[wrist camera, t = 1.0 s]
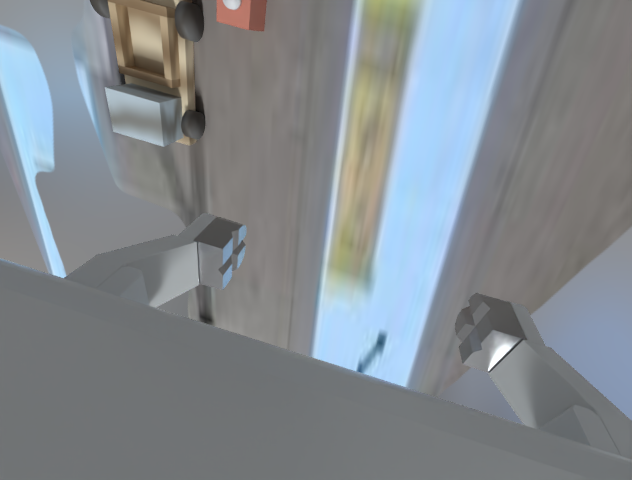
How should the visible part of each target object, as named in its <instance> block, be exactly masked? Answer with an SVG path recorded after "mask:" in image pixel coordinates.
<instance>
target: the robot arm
mask: <svg viewBox="0 0 632 480" xmlns="http://www.w3.org/2000/svg"><path fill="white" fill-rule="evenodd" d="M245 236H246V226H245V225H243V224H240V223H237V222H234V221H231V220H227V219H224V218H221V217H217V216H214V215H211V214H208V213H203V214H201V215H200V216H199V217H198V218H197V219H196V220H195V221H194V222H192V223H191V224H190V225H189V226H188V227H187V228H186V229H185V230H183V231H182V232H181V233H180V234H179V235H178V236H176V235H171V236H167V237H163V238H159V239H155V240H152V241H148V242H144V243H140V244H137V245H132V246H129V247H125V248H121V249H117V250H114V251H110V252H106V253H102V254H98V255H96V256H94V257H93V258H92V259H90V260H89V261H87V262H86V263H85V264H83V265H82V266H80V267H79V268H78V269H76V270H75V271H73V272H72V273H70V274H69V275H68V276H66V277H65V278H61V277H57V276H54V275H51V274H48V273H45V272H41V271H38V270H35V269H32V268H29V267H26V266H23V265H20V264H17V263H13V262H10V261H7V260H4V259H1V258H0V480H632V421H631V420H630V419H629V418H628V417H627V416H626V415H625V414H624V413H622V412H621V411H620V410H619V409H618V408H617V407H616V406H615V405H614V404H613V403H611V402H610V401H609V400H608V399H607V398H606V397H604V395H603V394H601V393H600V392H599V391H598V390H597V389H596V388H595V387H593V386H592V385H591V384H590V383H589V382H588V381H587V380H586V379H585V378H584V377H583V376H582V375H580V374H579V373H578V372H577V371H576V370H575V369H574V368H573V367H572V366H570V365H569V364H568V363H567V362H566V361H565V360H564V359H563V358H561V356H559V355H558V354H557V353H556V352H555V351H554V350H553V349H552V348H550V347H547V346H545V344H544V342H543V340H542V338H541V336H540V334H539V332H538V330H537V328H536V326H535V324H534V322H533V320H532V318H531V316H530V314H529V312H528V310H527V308H526V307H524V306H523V305H520V304H516V303H512V302H509V301H503V300H500V299H496V298H493V297H489V296H486V295H482V294H479V293H475V294H474V295H472V296H471V298H470V299H469V300H468V301H469V305H470V306H469V307H466V308H464V309H462V310H461V311H460V313H459V314H458V316H457V319H456V323H455V330H456V336H457V337H458V338H459V339H460V340H461V342H462V343H461V345H460V346H459V350H460V354H461V359H462V363H463V364H464V365H467V366H470V367H473V368H476V369H479V370H482V371H485V372H488V373H489V376H490V377H491V379H492V380H493V381H494V383H495V384H496V386H497V387H498V389H499V390H500V391H501V393H502V394H503V395H504V397H505V399H506V400H507V401H508V403H509V404H510V406H511V407H512V409H513V410H514V412H515V413H516V414H517V416H518V417H519V419H520V420H521V422H522V423H523V424H524V425H522V424H519V423H516V422H513V421H510V420H507V419H503V418H500V417H497V416H494V415H491V414H488V413H485V412H481V411H478V410H475V409H472V408H468V407H465V406H463V405H459V404H456V403H453V402H450V401H446V400H444V399H441V398H438V397H434V396H431V395H428V394H425V393H422V392H419V391H416V390H413V389H409V388H406V387H403V386H400V385H397V384H394V383H391V382H387V381H384V380H381V379H378V378H375V377H372V376H369V375H365V374H362V373H359V372H356V371H353V370H350V369H347V368H343V367H340V366H337V365H334V364H331V363H328V362H325V361H321V360H318V359H315V358H312V357H309V356H306V355H303V354H299V353H296V352H293V351H290V350H287V349H284V348H281V347H277V346H274V345H271V344H268V343H265V342H262V341H259V340H255V339H252V338H249V337H246V336H243V335H240V334H237V333H233V332H230V331H227V330H224V329H221V328H218V327H215V326H211V325H208V324H205V323H202V322H199V321H196V320H193V319H189V318H186V317H183V316H180V315H177V314H173V313H170V312H167V311H164V310H161V309H158V308H156V307H157V306H159V305H161V304H163V303H165V302H167V301H169V300H171V299H173V298H175V297H177V296H178V295H180V294H182V293H184V292H186V291H188V290H190V289H192V288H194V287H196V286H198V285H199V283H200V284H203V285H207V286H210V287H214V288H217V289H221V290H223V289H224V287H225V286H226V285H227V283H228V282H229V280H230V279H231V277H232V271H234V270H236V269H238V267H239V266H240V264H241V262H242V259H243V257H244V253H245V243H244V242H243V239H244V237H245Z"/></svg>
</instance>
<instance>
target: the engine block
mask: <svg viewBox="0 0 632 480" xmlns="http://www.w3.org/2000/svg"><path fill="white" fill-rule="evenodd" d="M266 2H267V0H217V22H221V23H225V24H228V25H232V26H236V27H239V28H243V29H247V30H254V31H264V25H265V14H266Z"/></svg>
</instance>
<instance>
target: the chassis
mask: <svg viewBox="0 0 632 480" xmlns="http://www.w3.org/2000/svg"><path fill="white" fill-rule="evenodd" d="M90 2H91V5H92V7H93V8H94V10H95V11H96V12H97V13H98V14H99V15H101V16H103V17H106V18H110V19H111V24H112V30H113V36H114V42H115V48H116V54H117V60H118V67H119V73H121V74H124V75H125V82H126V84H123V85H117V86H110V87H105V91H106V96H107V101H108V106H109V111H110V116H111V122H112V127H113V132H116V133H120V134H123V135H126V136H130V137H133V138H136V139H140V140H143V141H147V142H150V143H153V144H157V145H160V146H163V147H164V146H166V145H168V144H171V143H173V142H175V141H176V142H180V143H183V144H186V145H192V144H194V143H196V139H200V138H201V136H202V135H203V133H204V129H205V118H204V116H203V114H202V113H200V112H196V110H195V79H194V47H193V41H194V42H198V41H199V40H200V39H201V37H202V35H203V30H204V20H203V15H202V12H201V9H200V8H199V6H198V5H196V4H193V3H192V0H90Z"/></svg>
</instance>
